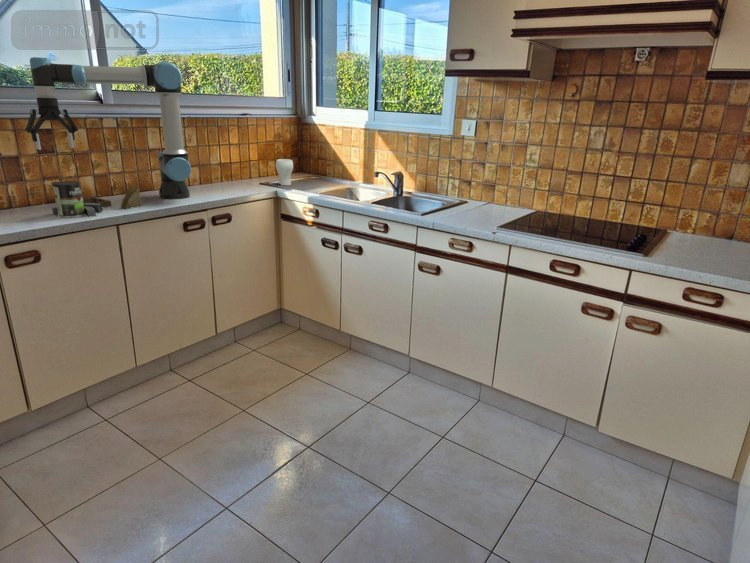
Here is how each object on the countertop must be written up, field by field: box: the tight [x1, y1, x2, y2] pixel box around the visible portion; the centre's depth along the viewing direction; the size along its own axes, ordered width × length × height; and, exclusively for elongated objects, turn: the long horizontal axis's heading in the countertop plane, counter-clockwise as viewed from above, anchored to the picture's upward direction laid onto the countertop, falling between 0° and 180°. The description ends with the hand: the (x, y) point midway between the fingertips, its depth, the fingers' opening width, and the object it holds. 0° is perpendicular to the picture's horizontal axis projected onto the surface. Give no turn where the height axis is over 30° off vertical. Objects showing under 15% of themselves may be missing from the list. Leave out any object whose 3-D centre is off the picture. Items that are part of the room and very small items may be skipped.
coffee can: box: [51, 180, 86, 219], centre depth 213 cm, size 10×10×14 cm
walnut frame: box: [83, 196, 112, 208], centre depth 234 cm, size 14×14×2 cm
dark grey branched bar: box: [51, 203, 104, 218], centre depth 220 cm, size 11×20×4 cm, turn 85°
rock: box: [120, 185, 142, 210], centre depth 234 cm, size 11×9×10 cm
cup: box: [275, 158, 294, 186], centre depth 309 cm, size 11×11×15 cm
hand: (55, 148), depth 219 cm, fingers open, 13 cm apart
